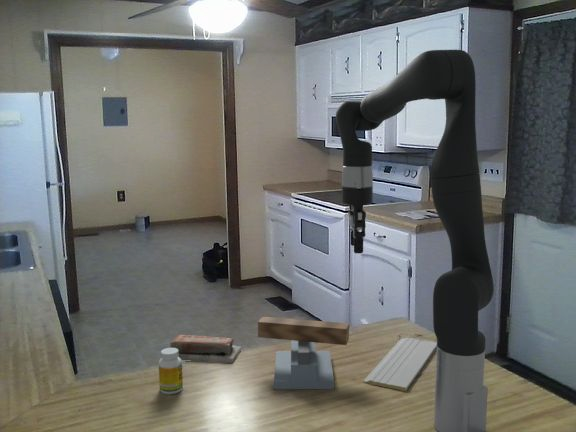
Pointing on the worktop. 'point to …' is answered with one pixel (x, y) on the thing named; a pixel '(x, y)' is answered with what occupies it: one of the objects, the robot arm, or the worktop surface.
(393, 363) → the baseboard molding
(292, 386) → the ridge stand
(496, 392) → the worktop surface
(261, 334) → the walnut batten
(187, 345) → the packaged product
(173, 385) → the supplement bottle
